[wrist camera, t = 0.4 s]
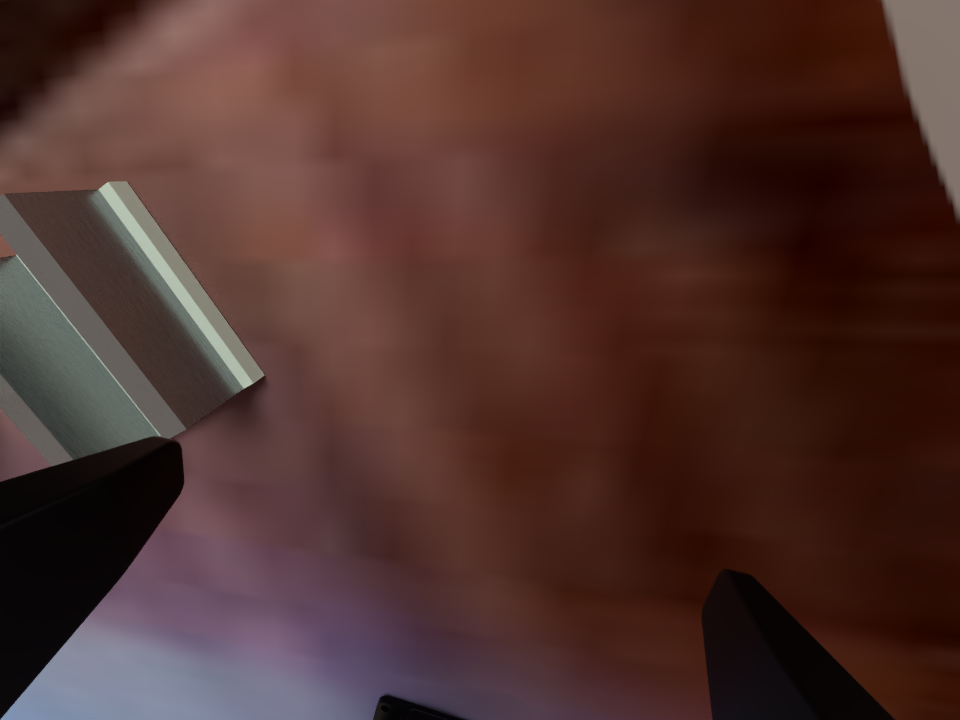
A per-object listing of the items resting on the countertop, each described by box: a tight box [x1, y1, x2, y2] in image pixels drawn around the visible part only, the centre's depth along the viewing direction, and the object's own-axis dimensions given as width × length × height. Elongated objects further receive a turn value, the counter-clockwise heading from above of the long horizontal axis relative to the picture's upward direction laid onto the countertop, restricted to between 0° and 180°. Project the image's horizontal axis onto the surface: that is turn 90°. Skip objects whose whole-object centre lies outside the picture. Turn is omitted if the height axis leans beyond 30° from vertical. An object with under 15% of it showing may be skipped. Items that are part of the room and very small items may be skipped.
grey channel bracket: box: [0, 181, 265, 466], centre depth 22 cm, size 10×8×5 cm
